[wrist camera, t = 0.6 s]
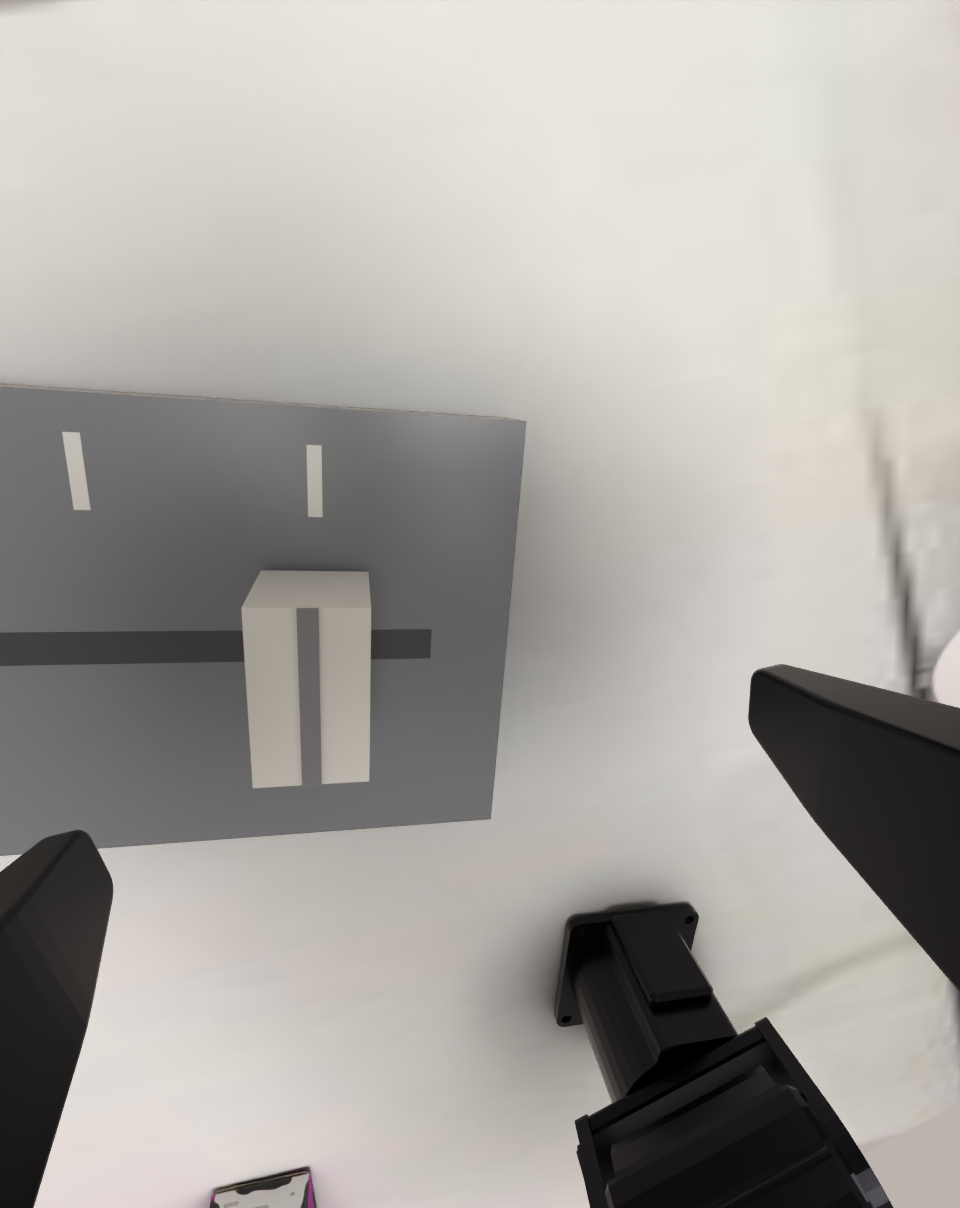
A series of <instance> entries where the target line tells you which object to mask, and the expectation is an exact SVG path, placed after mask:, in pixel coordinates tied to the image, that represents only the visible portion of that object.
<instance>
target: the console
mask: <svg viewBox="0 0 960 1208" xmlns="http://www.w3.org/2000/svg"><path fill="white" fill-rule="evenodd" d="M525 430H526V421H522V420H516V419H510V418H502V417H487V416H472V415H457V414H442V413H427V412H412V411H397V410H382V409H368V408H353V407H338V406H323V405H308V404H293V403H278V402H263V401H248V400H233V399H218V398H203V397H188V396H173V395H158V394H144V393H129V392H114V391H99V390H84V389H69V388H54V387H39V386H24V385H9V384H0V856H4V855H18V854H24V853H25V852H27V851H28V850H29V849H30V848H32V847H33V846H34V845H35V844H37V843H38V842H39V841H41V840H42V839H44V838H46V837H49V836H52V835H57V834H61V833H65V832H69V831H74V830H83V831H85V832H87V833H88V834H89V835H90V837H91V838H92V840H93V842H94V844H95V846H96V848H97V849H98V848H111V847H125V846H138V845H152V844H165V843H178V842H192V841H205V840H218V839H232V838H245V837H259V836H272V835H285V834H299V833H312V832H325V831H339V830H352V829H366V828H379V827H392V826H406V825H419V824H432V823H446V822H459V821H473V820H486V819H491V810H492V799H493V788H494V776H495V765H496V754H497V743H498V732H499V721H500V709H501V698H502V687H503V676H504V665H505V653H506V642H507V631H508V620H509V609H510V597H511V586H512V575H513V564H514V553H515V542H516V530H517V519H518V508H519V497H520V486H521V474H522V463H523V452H524V441H525ZM261 570H278V571H361V572H368V573H369V586H370V599H371V673H370V767H369V781H368V782H351V783H334V784H322V786H321V787H304V788H302V785H300V786H283V787H266V788H253V786H252V770H251V754H250V738H249V722H248V707H247V691H246V675H245V659H244V643H243V628H242V612H241V608H242V606H243V604H244V602H245V600H246V598H247V596H248V594H249V592H250V590H251V588H252V586H253V585H254V583H255V581H256V579H257V577H258V575H259V573H260V571H261Z"/></svg>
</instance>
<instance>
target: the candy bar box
mask: <svg viewBox="0 0 960 1208" xmlns="http://www.w3.org/2000/svg"><path fill="white" fill-rule="evenodd" d="M210 1208H316V1205H315V1200H314V1194H313V1188H312V1182H311V1176H310V1173H309V1172H307V1171H304V1172H298V1173H293V1174H289V1175H284V1176H279V1177H275V1178H271V1179H266V1180H262V1181H255V1182H251V1183H247V1184H242V1185H236V1186H233V1187H230V1188H226V1189H223V1190H219V1191H216V1192H214V1193H213V1195H212V1197H211V1203H210Z"/></svg>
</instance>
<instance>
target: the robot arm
mask: <svg viewBox="0 0 960 1208" xmlns="http://www.w3.org/2000/svg"><path fill="white" fill-rule="evenodd" d="M748 719H749V725H750V728H751V731H752V733H753V734H754V736H755V738H756V739H757V741H758V742H759V743H760V745H761V746H762V748H763V749H764V751H765V752H766V753H767V755H768V756H769V758H770V759H771V761H772V762H773V763H774V765H775V766H776V768H777V769H778V771H779V772H780V773H781V775H782V776H783V778H784V779H785V781H786V782H787V783H788V785H789V786H790V788H791V789H792V791H793V792H794V793H795V795H796V796H797V798H798V799H799V801H800V802H801V803H802V805H803V806H804V808H805V809H806V810H807V812H808V813H809V814H810V816H811V817H812V818H813V820H814V821H815V822H816V824H817V825H818V826H819V827H820V828H821V830H822V831H823V832H824V833H825V835H826V836H827V837H828V838H829V839H830V841H831V842H832V843H833V844H834V845H835V846H836V848H837V849H838V850H839V851H840V852H841V853H842V855H843V856H844V857H845V858H846V859H847V860H848V862H849V863H850V864H851V865H852V866H853V868H854V869H855V870H856V871H857V872H858V873H859V875H860V876H861V877H862V878H863V879H864V880H865V882H866V883H867V884H868V885H869V886H870V887H871V889H872V890H873V891H874V892H875V893H876V894H877V896H878V897H879V898H880V899H881V900H882V901H883V903H884V904H885V905H886V906H887V907H888V908H889V910H890V911H891V912H892V913H893V914H894V916H895V917H896V918H897V919H898V920H899V921H900V923H901V924H902V925H903V926H904V927H905V928H906V930H907V931H908V932H909V933H910V934H911V935H912V937H913V938H914V939H915V940H916V941H917V942H918V944H919V945H920V946H921V947H922V948H923V949H924V951H925V952H926V953H927V954H928V955H929V957H930V958H931V959H932V960H933V961H934V962H935V964H936V965H937V966H938V967H939V968H940V969H941V971H942V972H943V973H944V974H945V975H946V976H947V978H948V979H949V980H950V981H951V982H952V983H953V985H954V986H955V987H956V988H957V989H958V990H959V992H960V708H957V707H953V706H949V705H945V704H941V703H937V702H933V701H929V700H925V699H921V698H917V697H913V696H909V695H905V694H901V693H897V692H893V691H889V690H885V689H881V688H877V687H873V686H869V685H865V684H861V683H857V682H853V681H849V680H845V679H841V678H837V677H833V676H829V675H825V674H821V673H817V672H813V671H809V670H805V669H801V668H797V667H793V666H789V665H784V664H779V665H774V666H770V667H766V668H762V669H758V670H756V671H755V672H754V673H753V675H752V677H751V686H750V700H749V714H748ZM112 899H113V883H112V879H111V876H110V874H109V872H108V870H107V868H106V866H105V864H104V862H103V860H102V858H101V856H100V854H99V852H98V850H97V848H96V846H95V844H94V842H93V840H92V838H91V837H90V835H89V834H88V833H87V832H85V831H83V830H74V831H69V832H65V833H61V834H57V835H52V836H49V837H46V838H44V839H42V840H41V841H39V842H38V843H37V844H35V845H34V846H33V847H32V848H30V849H29V850H28V851H27V852H25V853H24V854H23V855H21V856H20V857H19V858H18V859H16V860H15V861H14V862H13V863H11V864H10V865H9V866H7V867H6V868H5V869H4V870H2V871H1V872H0V1208H33V1207H34V1204H35V1201H36V1198H37V1194H38V1191H39V1188H40V1184H41V1181H42V1178H43V1174H44V1171H45V1168H46V1164H47V1161H48V1158H49V1154H50V1151H51V1148H52V1144H53V1141H54V1138H55V1134H56V1131H57V1128H58V1124H59V1121H60V1118H61V1114H62V1111H63V1108H64V1104H65V1101H66V1098H67V1094H68V1091H69V1088H70V1084H71V1081H72V1078H73V1074H74V1071H75V1068H76V1065H77V1061H78V1058H79V1055H80V1051H81V1048H82V1044H83V1040H84V1037H85V1033H86V1030H87V1026H88V1021H89V1017H90V1012H91V1008H92V1003H93V998H94V993H95V988H96V982H97V977H98V972H99V967H100V962H101V956H102V951H103V946H104V941H105V936H106V931H107V925H108V920H109V915H110V910H111V905H112ZM698 919H699V916H698V914H697V912H696V911H695V909H694V908H693V906H691V905H681V906H673V907H664V908H655V909H646V910H637V911H628V912H619V913H610V914H602V915H593V916H584V917H577V918H574V919H572V920H571V921H570V922H569V923H568V925H567V930H566V937H565V944H564V950H563V957H562V964H561V971H560V977H559V984H558V991H557V997H556V1004H555V1011H554V1015H555V1019H556V1022H557V1024H558V1025H559V1026H561V1027H566V1026H573V1025H579V1024H584V1026H585V1029H586V1032H587V1035H588V1037H589V1040H590V1043H591V1046H592V1048H593V1051H594V1054H595V1057H596V1059H597V1062H598V1065H599V1068H600V1070H601V1073H602V1076H603V1079H604V1081H605V1084H606V1087H607V1090H608V1093H609V1095H610V1098H611V1101H612V1104H610V1105H609V1106H607V1107H605V1108H603V1109H601V1110H599V1111H598V1112H596V1113H594V1114H592V1115H590V1116H588V1115H587V1114H586V1115H584V1116H582V1117H580V1118H579V1119H577V1120H575V1125H576V1129H577V1134H578V1138H579V1143H580V1144H579V1145H578V1146H577V1149H578V1150H577V1152H576V1153H577V1156H578V1160H579V1163H580V1166H581V1170H582V1173H583V1177H584V1181H585V1186H586V1190H587V1195H588V1199H589V1204H590V1208H893V1207H892V1205H891V1203H890V1201H889V1199H888V1197H887V1195H886V1193H885V1192H884V1190H883V1188H882V1186H881V1184H880V1183H879V1181H878V1179H877V1178H876V1176H875V1174H874V1172H873V1171H872V1169H871V1168H870V1166H869V1164H868V1163H867V1161H866V1159H865V1158H864V1156H863V1154H862V1153H861V1151H860V1149H859V1148H858V1146H857V1145H856V1143H855V1142H854V1140H853V1138H852V1137H851V1135H850V1134H849V1132H848V1131H847V1129H846V1128H845V1126H844V1125H843V1123H842V1122H841V1120H840V1119H839V1117H838V1116H837V1114H836V1113H835V1111H834V1110H833V1109H832V1107H831V1106H830V1104H829V1103H828V1102H827V1100H826V1099H825V1097H824V1096H823V1095H822V1093H821V1092H820V1090H819V1089H818V1088H817V1086H816V1085H815V1084H814V1082H813V1081H812V1079H811V1078H810V1077H809V1075H808V1074H807V1073H806V1071H805V1070H804V1068H803V1067H802V1066H801V1064H800V1063H799V1061H798V1060H797V1059H796V1057H795V1056H794V1055H793V1053H792V1052H791V1050H790V1049H789V1048H788V1046H787V1045H786V1044H785V1042H784V1041H783V1039H782V1038H781V1037H780V1035H779V1034H778V1032H777V1031H776V1030H775V1028H774V1027H773V1026H772V1024H771V1023H770V1021H769V1020H768V1019H767V1017H765V1018H763V1019H761V1020H759V1021H757V1022H755V1023H754V1024H755V1026H754V1027H752V1028H750V1029H749V1030H747V1031H745V1032H743V1033H741V1034H739V1035H738V1033H737V1032H736V1030H735V1028H734V1027H733V1025H732V1023H731V1022H730V1020H729V1018H728V1017H727V1015H726V1013H725V1012H724V1010H723V1008H722V1007H721V1005H720V1003H719V1002H718V1000H717V998H716V997H715V995H714V993H713V988H712V986H711V984H710V983H709V981H708V979H707V978H706V976H705V974H704V973H703V971H702V969H701V968H700V966H699V964H698V963H697V961H696V959H695V958H694V956H693V954H692V953H691V948H692V944H693V940H694V935H695V931H696V927H697V923H698Z"/></svg>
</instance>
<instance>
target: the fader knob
mask: <svg viewBox="0 0 960 1208" xmlns="http://www.w3.org/2000/svg"><path fill="white" fill-rule="evenodd" d="M241 612H242V628H243V643H244V659H245V675H246V691H247V707H248V722H249V738H250V754H251V770H252V786H253V788H266V787H283V786H300V785H302V788H304V787H321V786H322V784H334V783H351V782H368V781H369V767H370V673H371V599H370V586H369V573H368V572H361V571H278V570H261V571H260V573H259V575H258V577H257V579H256V581H255V583H254V585H253V586H252V588H251V590H250V592H249V594H248V596H247V598H246V600H245V602H244V604H243V606H242V608H241Z"/></svg>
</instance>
